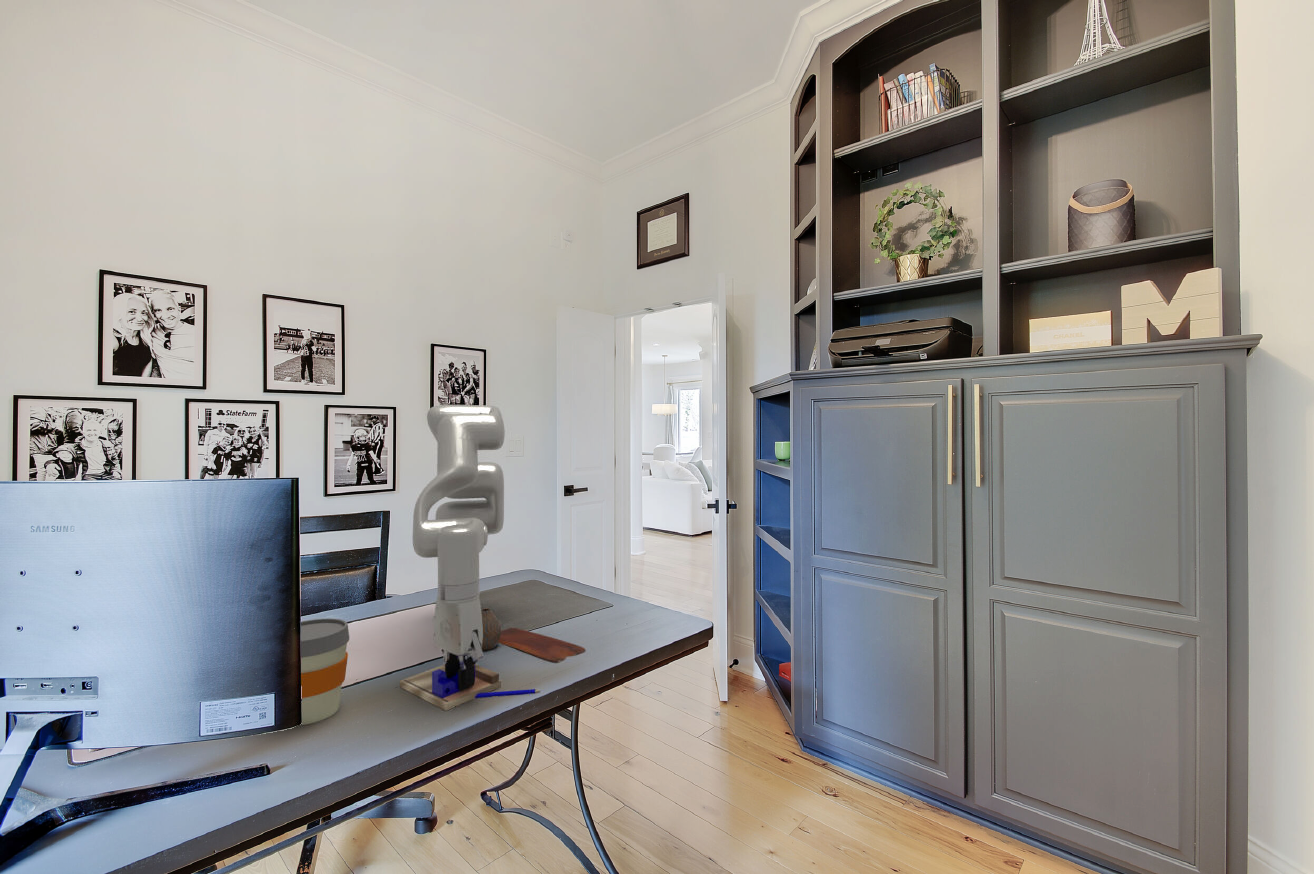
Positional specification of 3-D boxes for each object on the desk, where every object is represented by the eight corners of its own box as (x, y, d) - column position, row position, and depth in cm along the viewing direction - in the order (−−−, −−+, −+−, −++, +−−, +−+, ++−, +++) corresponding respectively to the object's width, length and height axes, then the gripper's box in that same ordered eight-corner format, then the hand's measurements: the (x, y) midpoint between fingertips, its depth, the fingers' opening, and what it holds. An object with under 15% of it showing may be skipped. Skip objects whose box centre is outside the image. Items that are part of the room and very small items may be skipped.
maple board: (399, 686, 112) (399, 673, 112) (454, 666, 122) (453, 653, 122) (445, 710, 103) (445, 695, 103) (500, 686, 112) (500, 673, 112)
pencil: (448, 701, 107) (448, 696, 107) (449, 699, 108) (449, 694, 108) (540, 694, 109) (540, 689, 109) (540, 692, 110) (540, 687, 110)
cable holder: (442, 698, 105) (442, 676, 105) (432, 692, 107) (432, 671, 107) (479, 682, 111) (479, 662, 111) (469, 677, 113) (469, 657, 113)
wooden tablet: (588, 653, 131) (588, 645, 131) (555, 667, 123) (555, 659, 123) (515, 628, 147) (515, 621, 147) (482, 639, 139) (482, 632, 139)
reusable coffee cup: (352, 717, 100) (351, 633, 100) (266, 738, 94) (265, 647, 93) (347, 690, 111) (346, 613, 111) (269, 707, 104) (268, 625, 104)
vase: (507, 646, 133) (506, 609, 133) (480, 655, 128) (480, 616, 128) (491, 639, 138) (491, 603, 138) (464, 647, 133) (464, 609, 133)
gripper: (417, 586, 111) (418, 679, 112) (467, 602, 101) (468, 705, 102) (451, 578, 117) (452, 666, 118) (502, 593, 107) (502, 689, 108)
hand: (459, 683), depth 110 cm, fingers closed on cable holder, 3 cm apart
